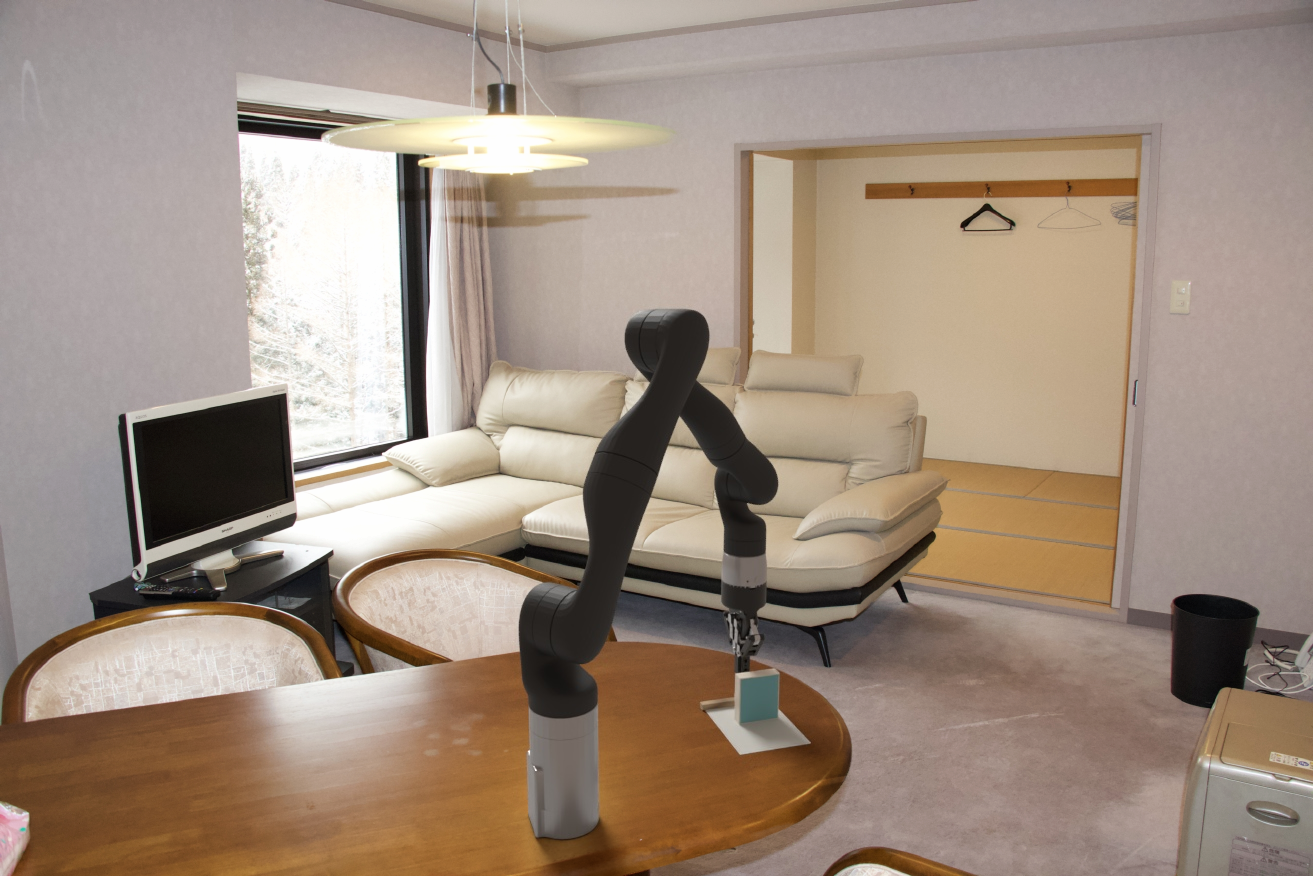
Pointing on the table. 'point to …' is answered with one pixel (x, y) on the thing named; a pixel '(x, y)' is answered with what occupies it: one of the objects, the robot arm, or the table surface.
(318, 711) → the table surface
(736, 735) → the mat
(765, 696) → the tile
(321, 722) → the table surface
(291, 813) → the table surface
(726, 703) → the turner
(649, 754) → the table surface
